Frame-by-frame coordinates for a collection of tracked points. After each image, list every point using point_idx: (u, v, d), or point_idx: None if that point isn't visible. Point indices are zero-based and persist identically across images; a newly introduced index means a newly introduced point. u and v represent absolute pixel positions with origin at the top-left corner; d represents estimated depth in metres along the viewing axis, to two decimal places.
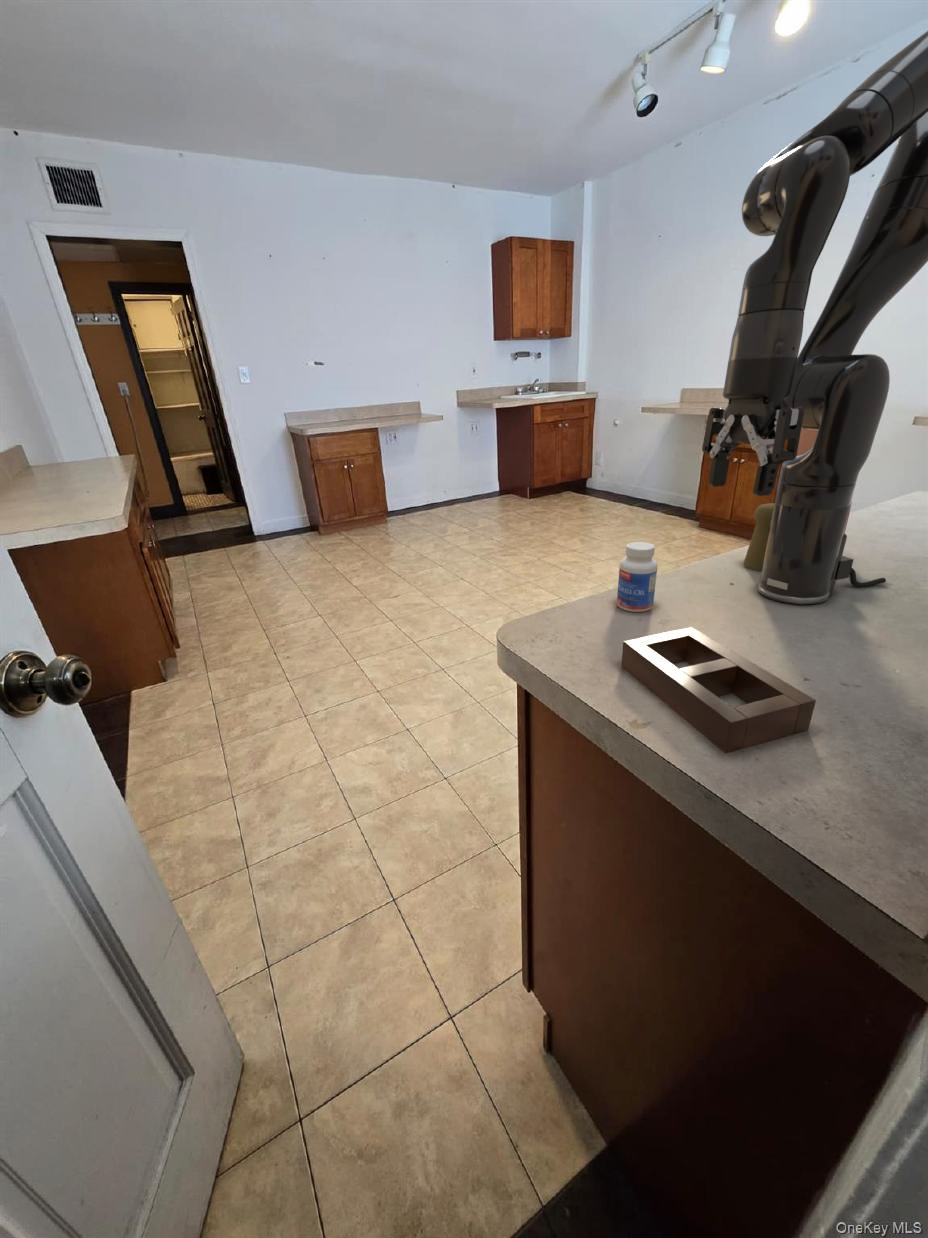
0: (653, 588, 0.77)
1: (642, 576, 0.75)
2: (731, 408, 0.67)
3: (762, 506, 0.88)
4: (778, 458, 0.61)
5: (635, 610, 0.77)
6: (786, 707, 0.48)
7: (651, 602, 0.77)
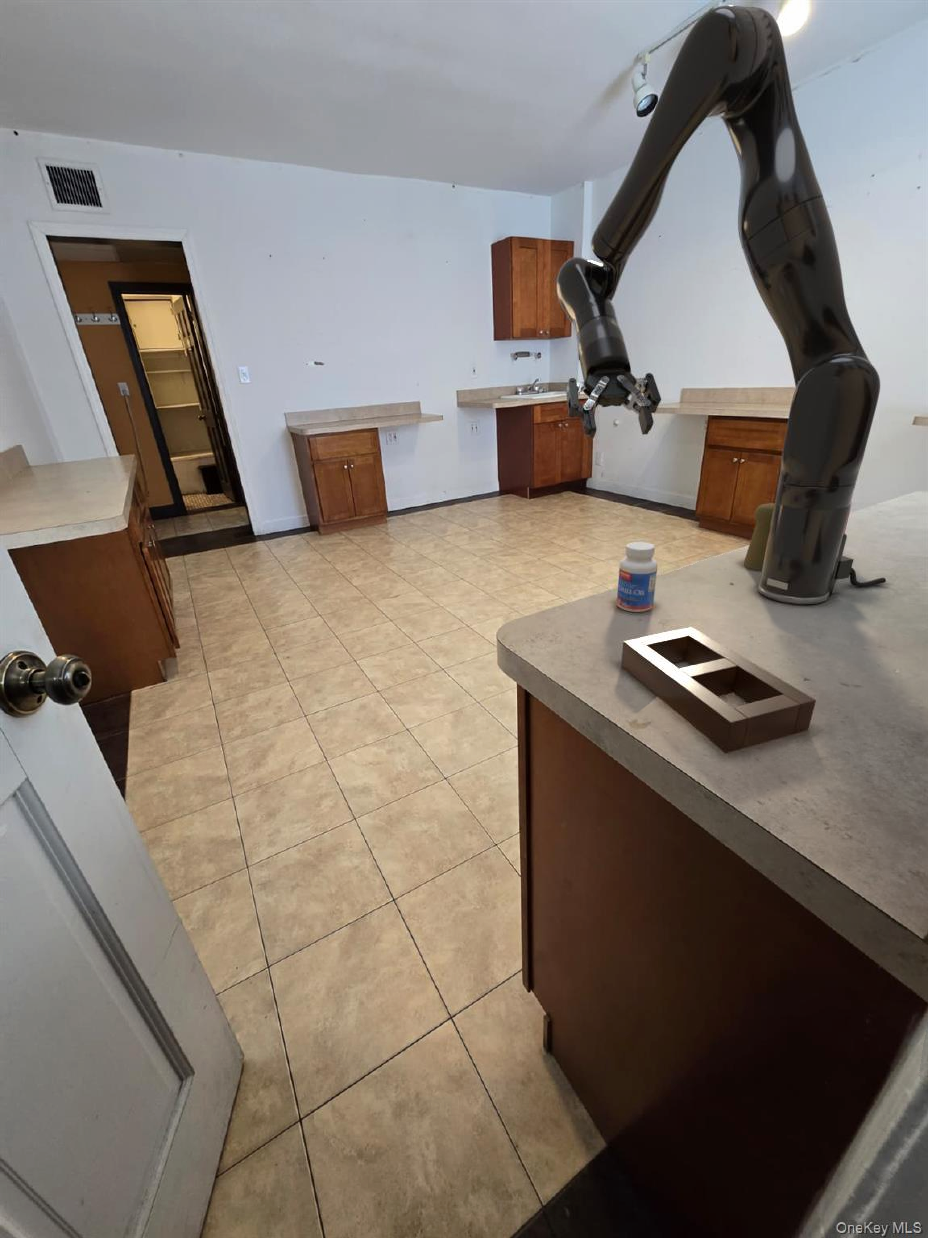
0: (653, 588, 0.77)
1: (642, 576, 0.75)
2: None
3: (762, 506, 0.88)
4: (569, 416, 0.83)
5: (635, 610, 0.77)
6: (786, 707, 0.48)
7: (651, 602, 0.77)
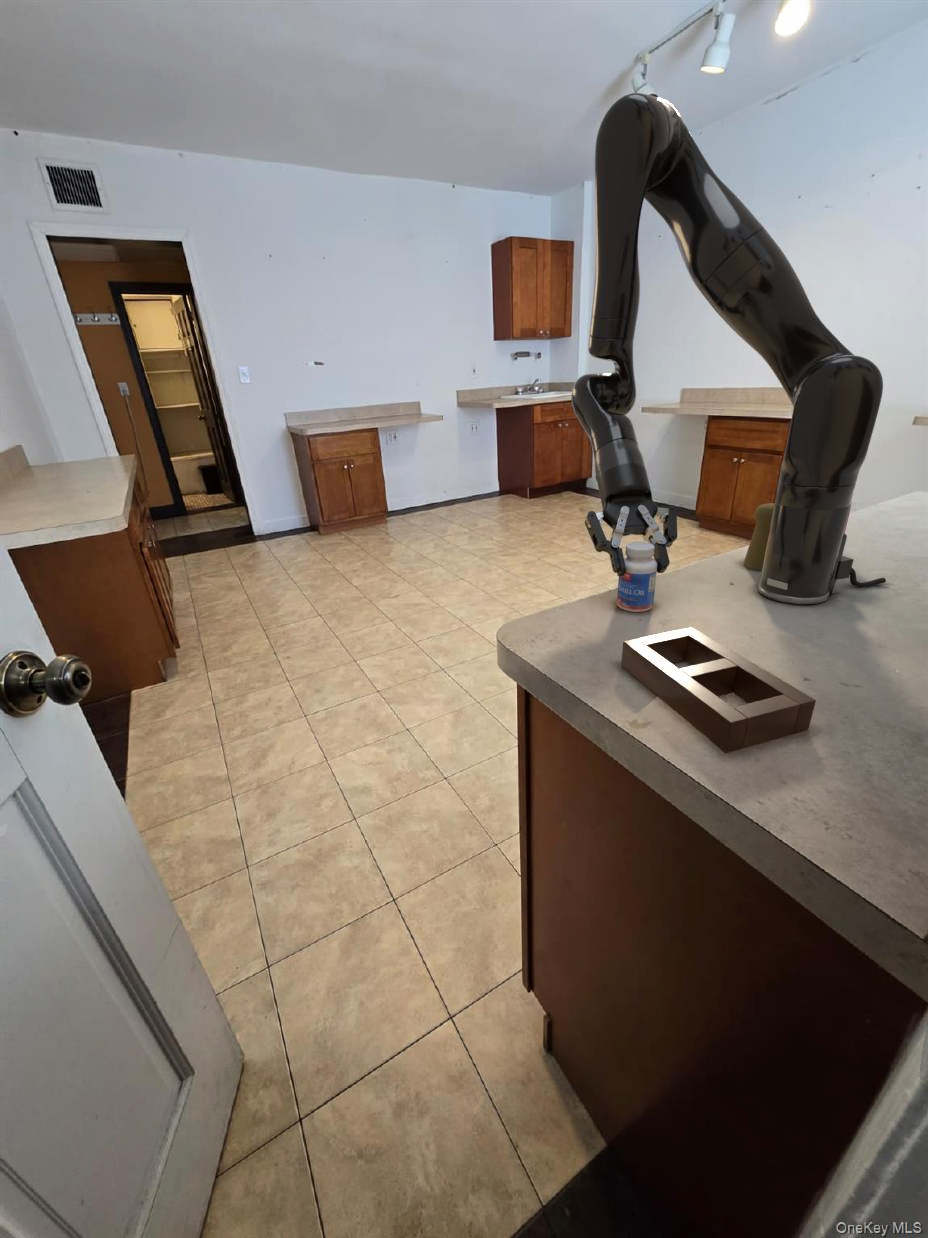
0: (653, 588, 0.77)
1: (642, 576, 0.75)
2: None
3: (762, 506, 0.88)
4: (596, 550, 0.78)
5: (635, 610, 0.77)
6: (786, 707, 0.48)
7: (651, 602, 0.77)
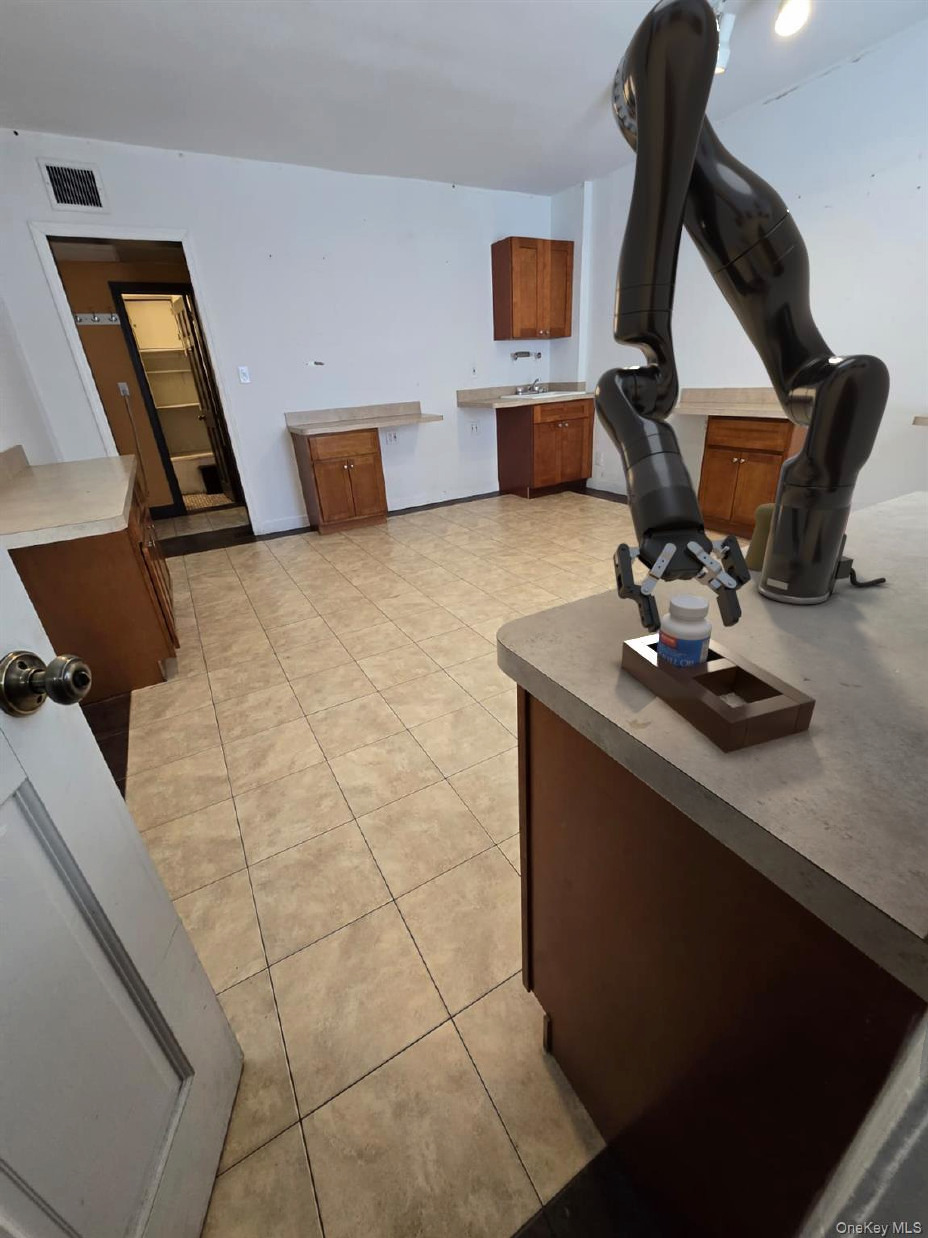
0: (705, 657, 0.57)
1: (692, 643, 0.56)
2: None
3: (762, 506, 0.88)
4: (619, 596, 0.59)
5: None
6: (786, 707, 0.48)
7: None
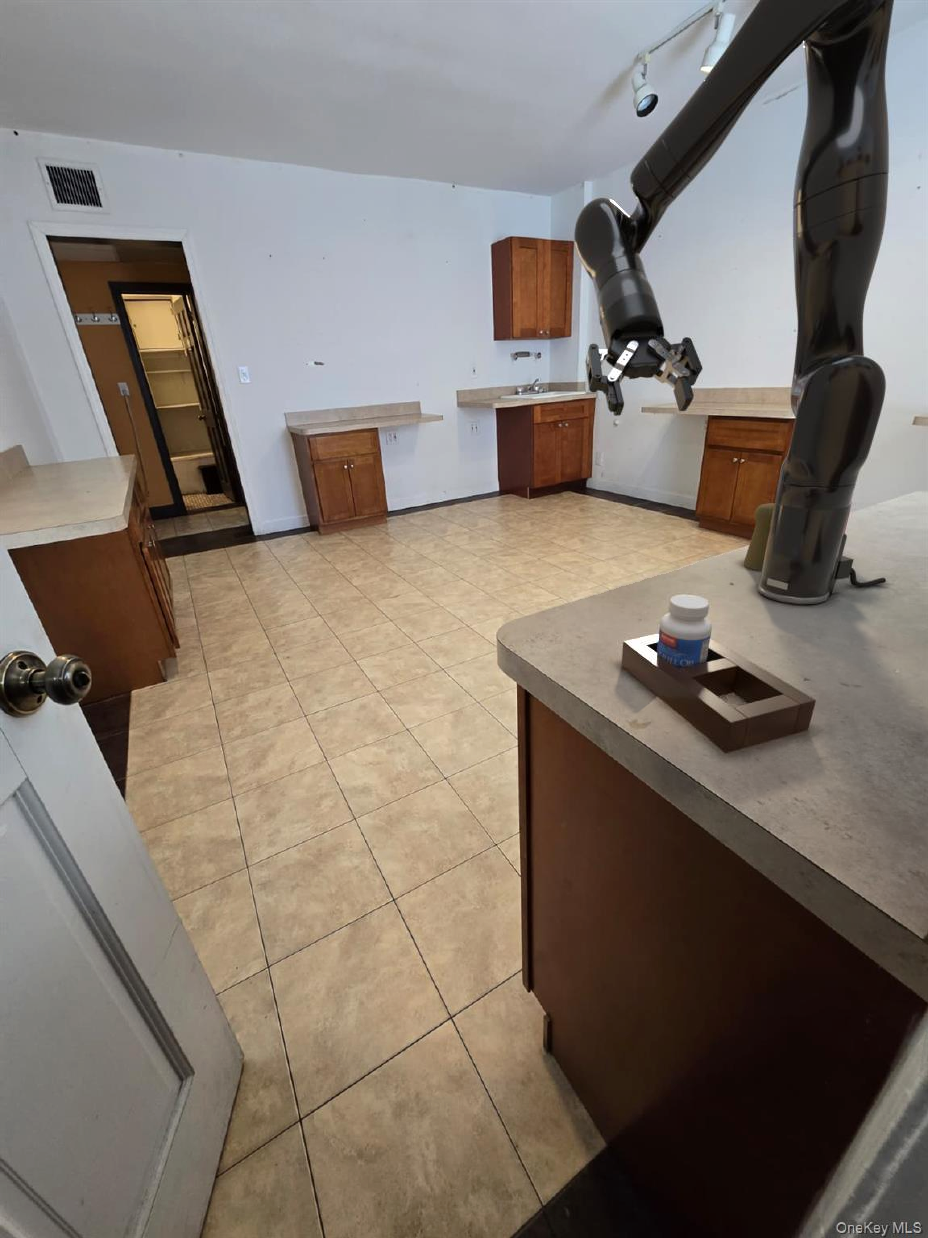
0: (705, 657, 0.57)
1: (692, 643, 0.56)
2: None
3: (762, 506, 0.88)
4: (590, 390, 0.68)
5: None
6: (786, 707, 0.48)
7: None
